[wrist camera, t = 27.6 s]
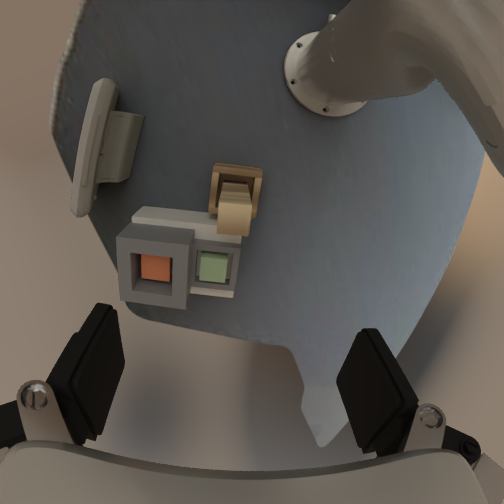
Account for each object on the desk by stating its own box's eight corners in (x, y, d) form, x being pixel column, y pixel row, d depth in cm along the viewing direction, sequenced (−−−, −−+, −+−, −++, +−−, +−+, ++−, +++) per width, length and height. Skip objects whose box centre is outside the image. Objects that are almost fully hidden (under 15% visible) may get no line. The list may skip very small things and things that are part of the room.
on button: (202, 250, 36) (201, 256, 34) (228, 253, 36) (227, 259, 34) (200, 272, 37) (199, 280, 35) (225, 275, 38) (224, 283, 36)
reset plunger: (144, 246, 34) (141, 251, 32) (172, 249, 34) (170, 255, 33) (144, 272, 35) (141, 278, 34) (171, 275, 36) (169, 281, 34)
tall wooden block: (223, 179, 36) (218, 202, 26) (246, 181, 37) (252, 205, 26) (221, 202, 38) (216, 233, 27) (244, 203, 38) (248, 236, 27)
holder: (215, 162, 36) (213, 165, 33) (260, 168, 37) (263, 172, 34) (210, 205, 39) (207, 213, 36) (253, 211, 39) (255, 218, 36)
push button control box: (141, 205, 38) (115, 230, 29) (241, 216, 40) (244, 244, 31) (141, 268, 42) (120, 305, 33) (232, 279, 44) (232, 320, 35)
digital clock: (112, 79, 30) (75, 67, 21) (166, 100, 33) (141, 91, 23) (71, 182, 36) (30, 200, 26) (119, 206, 38) (86, 231, 28)
